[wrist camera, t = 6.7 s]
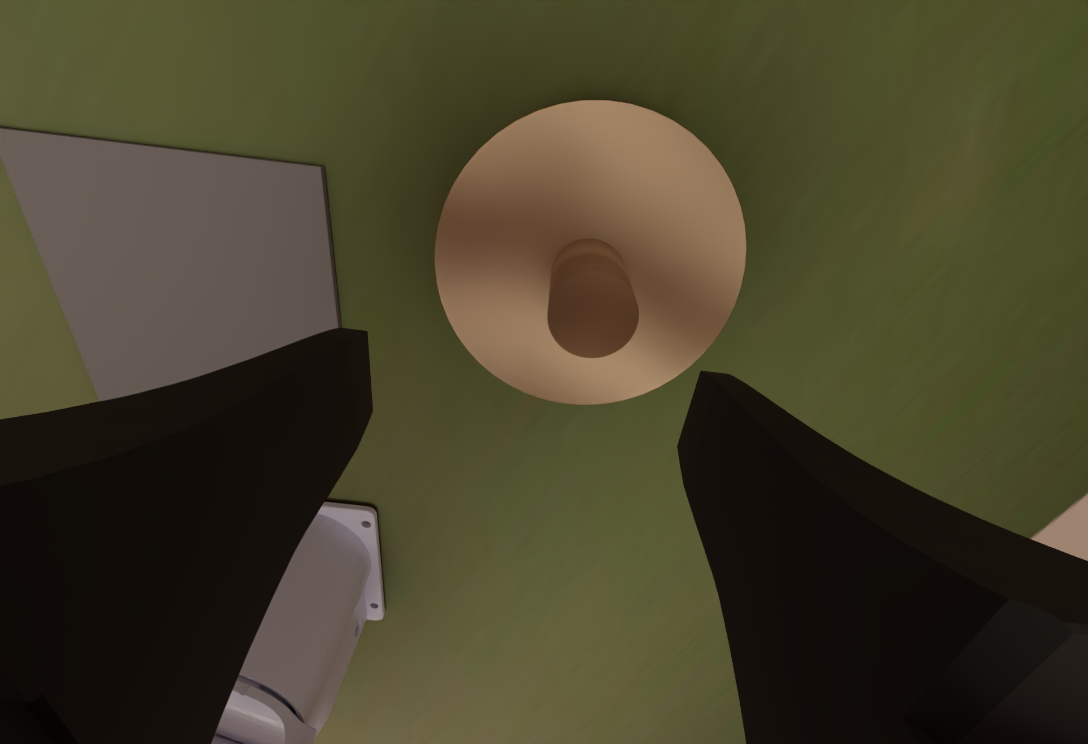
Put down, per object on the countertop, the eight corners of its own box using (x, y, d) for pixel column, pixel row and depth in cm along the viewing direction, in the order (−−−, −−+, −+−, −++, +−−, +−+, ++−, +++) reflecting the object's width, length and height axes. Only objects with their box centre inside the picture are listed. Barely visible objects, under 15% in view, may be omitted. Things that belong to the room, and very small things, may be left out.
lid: (679, 414, 19) (707, 490, 16) (428, 366, 19) (394, 433, 15) (791, 141, 14) (870, 155, 11) (456, 64, 14) (416, 50, 10)
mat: (351, 427, 24) (349, 431, 24) (105, 400, 24) (100, 403, 23) (324, 166, 18) (320, 167, 18) (-3, 126, 18) (-12, 127, 18)
